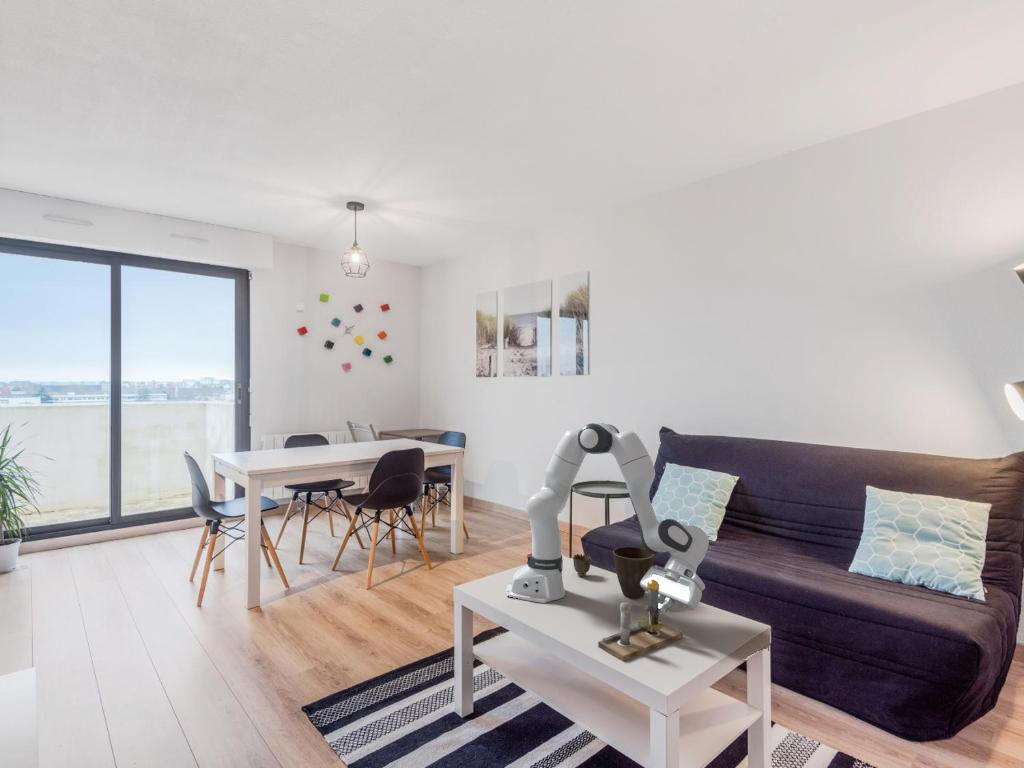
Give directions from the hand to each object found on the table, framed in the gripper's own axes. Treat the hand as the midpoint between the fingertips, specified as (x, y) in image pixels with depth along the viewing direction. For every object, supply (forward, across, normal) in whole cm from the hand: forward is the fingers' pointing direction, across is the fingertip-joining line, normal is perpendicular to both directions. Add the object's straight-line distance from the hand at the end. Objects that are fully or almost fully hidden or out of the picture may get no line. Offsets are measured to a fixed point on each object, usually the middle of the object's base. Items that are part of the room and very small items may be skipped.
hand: (657, 610), depth 159 cm
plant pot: (-7, -27, +18) cm, 33 cm away
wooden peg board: (+11, 0, 0) cm, 11 cm away
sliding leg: (+6, -1, +3) cm, 6 cm away
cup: (-5, -53, +17) cm, 56 cm away
